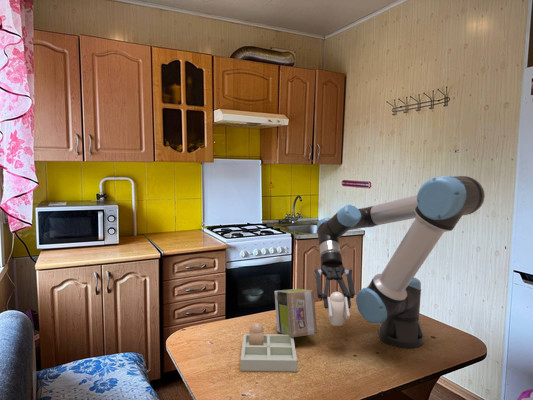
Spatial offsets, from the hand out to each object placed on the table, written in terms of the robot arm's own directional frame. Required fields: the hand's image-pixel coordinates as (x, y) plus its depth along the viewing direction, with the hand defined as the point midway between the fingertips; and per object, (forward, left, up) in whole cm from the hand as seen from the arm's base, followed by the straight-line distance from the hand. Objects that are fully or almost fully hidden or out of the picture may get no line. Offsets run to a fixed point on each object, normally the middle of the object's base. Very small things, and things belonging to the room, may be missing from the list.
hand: (339, 317), depth 121 cm
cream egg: (0, -4, -3) cm, 5 cm away
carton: (+23, +2, -13) cm, 26 cm away
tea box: (+16, -20, -6) cm, 26 cm away
